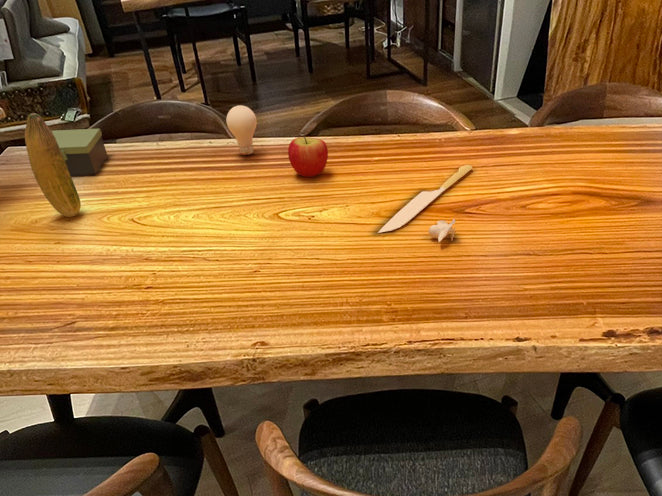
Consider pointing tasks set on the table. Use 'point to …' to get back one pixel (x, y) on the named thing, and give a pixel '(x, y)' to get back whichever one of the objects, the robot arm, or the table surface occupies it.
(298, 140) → the apple
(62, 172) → the vegetable
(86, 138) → the block
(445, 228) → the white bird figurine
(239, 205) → the table surface
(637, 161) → the table surface
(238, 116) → the light bulb
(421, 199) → the knife
